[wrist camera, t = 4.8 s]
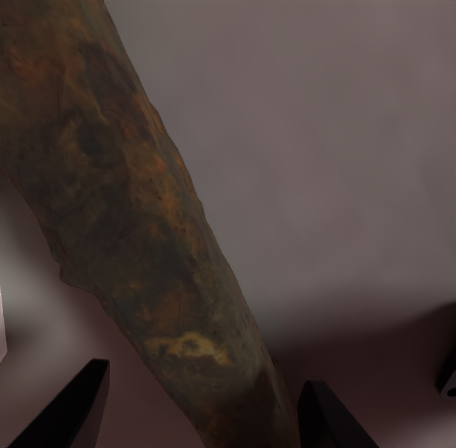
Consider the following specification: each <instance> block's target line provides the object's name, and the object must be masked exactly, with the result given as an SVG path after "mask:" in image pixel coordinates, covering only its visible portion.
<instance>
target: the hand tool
mask: <svg viewBox="0 0 456 448" xmlns="http://www.w3.org/2000/svg"><path fill="white" fill-rule="evenodd" d="M0 168H1V170H2V171H3V173H4V174H5V176H6V177H7V178H9V179H10V180H11V182H12V183H13V184H14V185H15V187H16V188H17V189H18V190H19V191H20V193H21V194H22V195H23V197H24V198H25V200H26V201H27V203H28V204H29V206H30V207H31V209H32V210H33V212H34V213H35V215H36V217H37V219H38V222H39V224H40V227H41V229H42V231H43V233H44V235H45V237H46V239H47V242H48V245H49V247H50V250H51V254H52V257H53V259H54V260H55V261H57V262H58V263H59V264H60V280H61V281H63V282H64V283H66V284H68V285H71V286H74V287H77V288H81V289H83V290H85V291H88V292H90V293H92V294H93V295H94V296H95V297H96V298H97V299H98V300H99V302H100V303H101V305H102V307H103V308H104V310H105V311H106V313H107V314H108V315H109V316H110V317H111V318H112V319H113V320H114V321H115V323H116V324H117V326H118V327H119V329H120V330H121V332H122V333H123V334H124V336H125V337H126V338H127V339H128V341H129V342H130V343H131V344H132V346H133V347H134V348H135V349H136V351H137V352H138V354H139V356H140V357H141V359H142V360H143V362H144V363H145V365H146V366H147V367H148V368H149V370H150V371H151V372H152V373H153V374H154V376H155V377H156V379H157V380H158V381H159V383H160V384H161V386H162V387H163V388H164V390H165V391H166V392H167V394H168V395H169V396H170V397H171V399H172V400H173V401H174V402H175V404H176V405H177V406H178V407H179V408H180V410H181V411H182V412H183V413H184V414H185V416H186V417H187V418H188V419H189V421H190V422H191V423H192V425H193V426H194V427H195V429H196V431H197V432H198V434H199V435H200V437H201V439H202V441H203V443H204V445H205V447H206V448H301V442H300V437H299V433H298V429H297V424H296V421H295V417H294V412H293V406H292V402H291V399H290V396H289V392H288V389H287V385H286V382H285V378H284V374H283V371H282V370H281V368H280V367H279V365H278V364H277V362H276V361H275V360H274V359H273V358H271V357H270V355H269V353H268V350H267V348H266V346H265V344H264V341H263V339H262V337H261V335H260V332H259V330H258V327H257V324H256V322H255V320H254V318H253V316H252V314H251V312H250V310H249V307H248V305H247V303H246V301H245V299H244V296H243V294H242V292H241V289H240V287H239V284H238V282H237V279H236V277H235V275H234V273H233V271H232V269H231V267H230V265H229V264H228V262H227V260H226V259H225V257H224V255H223V254H222V252H221V250H220V248H219V246H218V243H217V241H216V239H215V236H214V234H213V232H212V230H211V228H210V226H209V224H208V223H207V221H206V218H205V214H204V210H203V206H202V202H201V201H200V200H199V199H198V197H197V195H196V192H195V189H194V186H193V183H192V180H191V177H190V175H189V173H188V170H187V168H186V166H185V164H184V162H183V159H182V157H181V155H180V153H179V150H178V148H177V147H176V145H175V144H174V143H173V141H172V140H171V138H170V137H169V135H168V134H167V131H166V129H165V127H164V124H163V122H162V120H161V117H160V115H159V113H158V111H157V110H156V109H155V108H154V106H153V105H152V104H151V103H150V101H149V99H148V97H147V95H146V93H145V90H144V88H143V86H142V84H141V82H140V79H139V77H138V75H137V73H136V71H135V69H134V67H133V65H132V63H131V61H130V59H129V57H128V55H127V53H126V51H125V49H124V46H123V44H122V41H121V39H120V37H119V34H118V32H117V29H116V27H115V25H114V22H113V20H112V18H111V16H110V14H109V12H108V10H107V8H106V6H105V3H104V0H0Z"/></svg>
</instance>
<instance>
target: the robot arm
mask: <svg viewBox="0 0 456 448" xmlns="http://www.w3.org/2000/svg"><path fill="white" fill-rule="evenodd" d="M109 382H110V361H109V360H107V359H96V358H94V359H91V360H90V361H89V362H88V363H87V364H86V365H85V366H84V367H83V368H82V369H81V370H80V371H79V372H78V373H77V374H76V375H75V377H74V378H73V379H72V380H71V381H70V382H69V383H68V384H67V385H66V386H65V387H64V388H63V389H62V390H61V391H60V392H59V393H58V394H57V395H56V396H55V397H54V398H53V399H52V400H51V401H50V402H49V403H48V404H47V405H46V406H45V407H44V408H43V409H42V410H41V411H40V413H39V414H38V415H37V416H36V417H35V418H34V419H33V420H32V421H31V422H30V423H29V424H28V425H27V426H26V427H25V428H24V429H23V430H22V431H21V432H20V433H19V434H18V435H17V436H16V437H15V438H14V439H13V440H12V441H11V442H10V443H9V444H8V445H7V446H6V447H5V448H95V445H96V441H97V437H98V433H99V429H100V424H101V420H102V416H103V412H104V408H105V404H106V399H107V395H108V391H109ZM435 388H436V390H437V392H438V393H439V395H440V396H441V398H442V399H443V400H446V401H452V402H456V350H455V351H454V353H453V355H452V356H451V358H450V360H449V361H448V363H447V365H446V366H445V368H444V370H443V371H442V373H441V375H440V376H439V378H438V380H437V381H436V384H435ZM297 412H298V422H299V432H300V442H301V448H379V447H378V446H377V444H376V443H375V442H374V441H373V440H372V438H371V437H370V436H369V435H368V434H367V432H366V431H365V430H364V429H363V428H362V426H361V425H360V424H359V423H358V422H357V420H356V419H355V418H354V417H353V415H352V414H351V413H350V412H349V411H348V409H347V408H346V407H345V406H344V405H343V403H342V402H341V401H340V400H339V399H338V397H337V396H336V395H335V394H334V392H333V391H332V390H331V389H330V388H329V386H328V385H327V384H326V383H325V382H324V381H323V380H318V379H307V380H306V381H305V383H304V386H303V388H302V391H301V394H300V396H299V399H298V404H297Z"/></svg>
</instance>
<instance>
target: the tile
mask: <svg viewBox="0 0 456 448" xmlns="http://www.w3.org/2000/svg"><path fill="white" fill-rule="evenodd" d="M6 353H7V344H6V335H5V326H4V317H3V309H2V300H1V291H0V362H1V361H2V359H3V358H4V356H5V355H6Z"/></svg>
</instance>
